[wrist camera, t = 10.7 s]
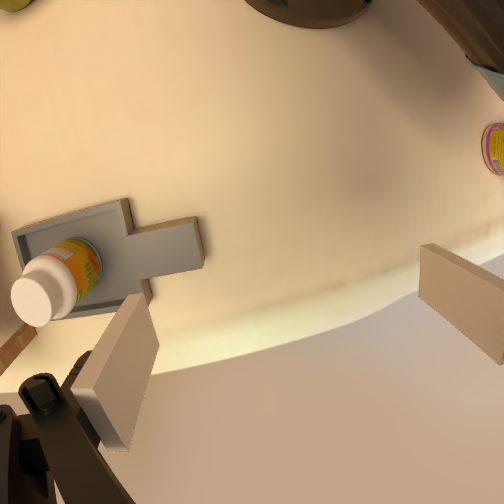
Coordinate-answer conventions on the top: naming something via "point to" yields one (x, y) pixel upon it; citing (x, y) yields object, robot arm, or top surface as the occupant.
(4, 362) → the wooden stool
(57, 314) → the supplement bottle
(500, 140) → the supplement bottle
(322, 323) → the top surface
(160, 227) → the tray
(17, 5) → the plant pot
